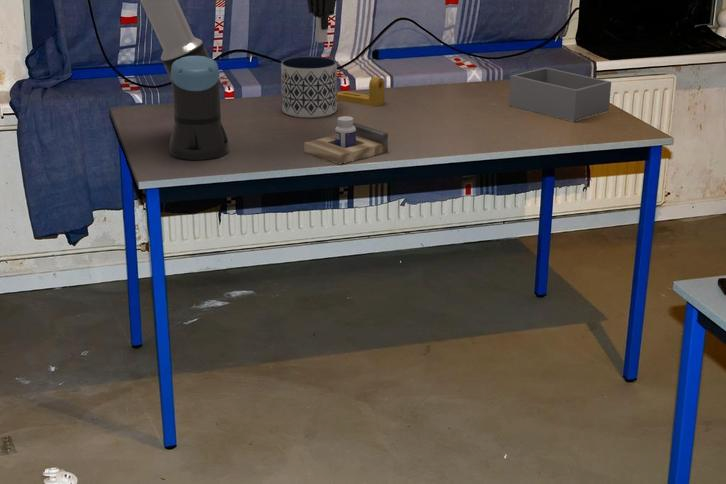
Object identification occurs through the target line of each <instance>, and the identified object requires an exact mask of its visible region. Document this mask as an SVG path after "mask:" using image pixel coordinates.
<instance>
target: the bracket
mask: <svg viewBox="0 0 726 484" xmlns="http://www.w3.org/2000/svg"><path fill="white" fill-rule="evenodd" d="M337 101H340V102H346V103H352V104H357V105H365V106H369V107H376V108H377V107H380V106H381V105H382V106H383V105H384V104H385V79H384V78H383V77H379V76H378V77H377V76H372V77H371V78H370V80H369V84H368V94H364V93H358V92H352V91H337Z"/></svg>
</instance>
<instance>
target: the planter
mask: <svg viewBox="0 0 726 484" xmlns="http://www.w3.org/2000/svg"><path fill="white" fill-rule="evenodd" d="M337 66H338V63H337V61H336V60H335V59H333V58H330V57H325V56H313V55H311V56H310V55H309V56H307V55H305V56H304V55H303V56H295V57H289V58H285V59H283V60H282V61H281V62H280V76H281V77H280V79H281V83H280V84H281V109H282V112H283V113H284V114H286V115H288V116H291V117H295V118H301V119H303V118H306V119H314V118H323V117H328V116H331V115H333V114H334V113H336V112H337V110H338V100H337V93H338V68H337Z"/></svg>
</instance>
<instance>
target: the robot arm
mask: <svg viewBox="0 0 726 484" xmlns="http://www.w3.org/2000/svg"><path fill="white" fill-rule="evenodd" d="M139 1H140V2H141V5H142V7H143V9H144V12H145V14H146V16H147V18H148V20H149V22H150V24H151V27H152V28H153V29H152V30H153V31H154V33H155V35H156V38H157V39H158V42H159V44H160V46H161V48H162V53H161V56H160V60H161V62H162V64H163V66H164V68H165V70H166V72H167V76H168V77H169V79H170V82H171V88H172V101H173V119H174V122H173V123H174V124H173V129H172V131H171V135H170V140H169V142H168V143H169V145H168V146H169V148H168V149H169V154H170V156H171V157H174V158H177V159H181V160H190V161H191V160H192V161H200V160H201V161H202V160H211V159H216V158H219V157H223V156H225V155H226V154H228V153H229V152H230V141H229V138H228V137H227V134H226V130H225V128H224V126H223V123H222V118H221V97H220V71H219V65H218V63H217V62H216V60H214V59H213V58H211V57H210V56H209V54H208V52H207V48H206V47H205V44H204V43H203V40H202V39H200V38H197V37H195V36H194V35H193V33H192V30H191V27H190V26H189V23H188V21H187V19H186V16H185V14H184V11H183V10H182V8H181V5H180V3H179V0H139ZM306 1H307V7H308V12H309V13H312V15H313V17H314V28H315V42H317V43H325V42H328V30H329V17H330V16H334V15H335V9H336V2H337V0H306Z"/></svg>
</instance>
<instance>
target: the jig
mask: <svg viewBox="0 0 726 484" xmlns="http://www.w3.org/2000/svg"><path fill="white" fill-rule="evenodd" d="M352 125H353V126H354V127H355V128H356V146H352V147H348V148H342V147H339V146H336V145H335V134H334V135H330V136H327V137H322V138H318V139H314V140H310V141H306V142H304V143H303V145H304V153H306V154H309V155H312V156H314V155H315V156H314V157H317V156H318V158H320V157H321V158H320V159H323V158H324V159H323V160H326V159H327V160H326V161H328V160H331V161H334V162H337V163H344V162H347V161H352V160H356V161H359V160H358V159H360V160H362V158H363V159H367V158H370V157H374V155H375V156H377V155H382V154H385V153H388V151H389V133H388V132H386V131H382V130H379V129H376V128H373V127H369V126H366V125H363V124H360V123H356V122H354V121H353V124H352ZM366 157H367V158H366ZM331 161H330V162H331ZM334 162H333V163H334ZM352 162H353V161H352ZM337 163H336V164H337Z"/></svg>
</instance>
